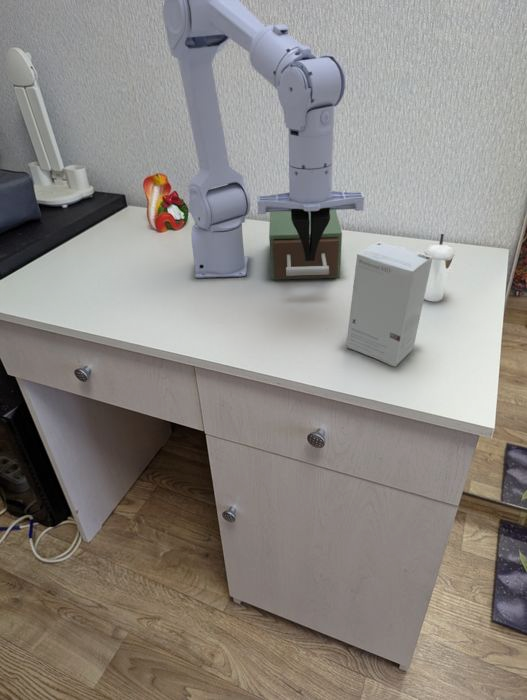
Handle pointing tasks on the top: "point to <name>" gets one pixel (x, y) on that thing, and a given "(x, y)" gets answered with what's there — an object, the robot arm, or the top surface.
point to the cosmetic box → (387, 301)
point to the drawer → (293, 261)
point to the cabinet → (285, 230)
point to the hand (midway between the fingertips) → (309, 258)
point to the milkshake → (438, 269)
